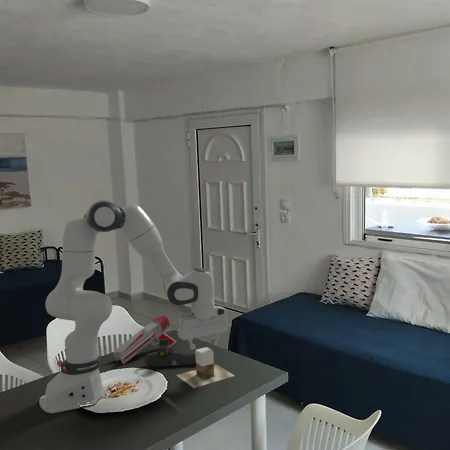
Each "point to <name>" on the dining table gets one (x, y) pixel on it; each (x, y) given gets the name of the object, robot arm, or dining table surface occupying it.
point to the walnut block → (205, 370)
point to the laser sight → (169, 356)
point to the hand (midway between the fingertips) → (203, 346)
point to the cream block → (204, 356)
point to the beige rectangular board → (198, 381)
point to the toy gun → (144, 339)
